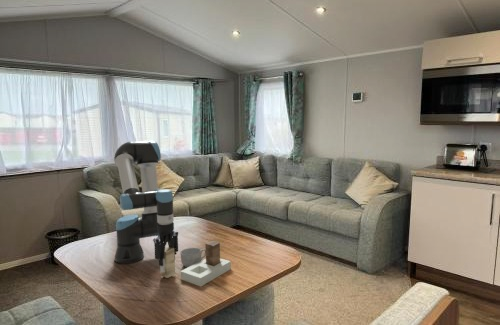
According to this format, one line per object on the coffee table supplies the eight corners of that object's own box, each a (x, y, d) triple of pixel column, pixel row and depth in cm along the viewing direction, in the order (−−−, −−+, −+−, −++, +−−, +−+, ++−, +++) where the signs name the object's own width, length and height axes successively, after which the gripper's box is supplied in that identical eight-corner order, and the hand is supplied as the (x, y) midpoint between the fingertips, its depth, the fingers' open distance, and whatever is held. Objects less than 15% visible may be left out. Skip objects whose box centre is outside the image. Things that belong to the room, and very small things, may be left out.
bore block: (180, 279, 159) (180, 271, 159) (211, 263, 177) (211, 255, 177) (200, 286, 152) (200, 278, 151) (231, 268, 170) (230, 261, 169)
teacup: (181, 271, 168) (181, 255, 167) (180, 262, 179) (179, 248, 178) (209, 267, 172) (208, 252, 171) (206, 259, 182) (205, 245, 181)
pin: (160, 275, 161) (159, 249, 159) (168, 271, 165) (167, 246, 163) (167, 278, 158) (166, 251, 157) (175, 274, 162) (174, 248, 161)
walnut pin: (206, 268, 168) (205, 243, 166) (212, 265, 172) (212, 240, 170) (213, 271, 165) (213, 245, 164) (220, 267, 169) (219, 242, 168)
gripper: (155, 229, 149) (157, 278, 152) (185, 219, 163) (186, 264, 167) (144, 226, 153) (147, 274, 156) (174, 216, 168) (176, 260, 171)
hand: (167, 269), depth 161 cm, fingers closed on pin, 5 cm apart
